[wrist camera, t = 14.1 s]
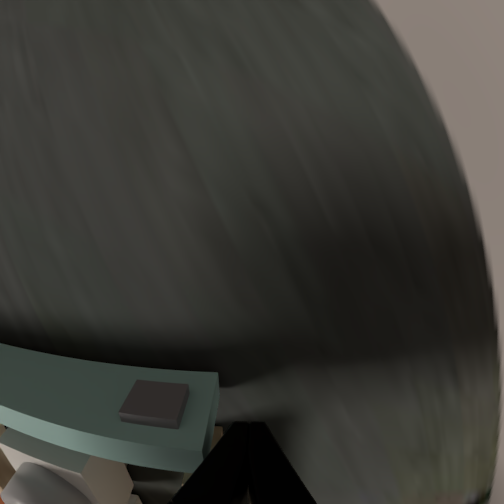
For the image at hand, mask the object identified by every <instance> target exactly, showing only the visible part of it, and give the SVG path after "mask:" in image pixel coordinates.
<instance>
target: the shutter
mask: <svg viewBox="0 0 504 504" xmlns="http://www.w3.org/2000/svg"><path fill="white" fill-rule="evenodd" d="M219 398H220V391H219V378H218V372H198V371H181V370H167V369H155V368H144V367H135V366H126V365H117V364H109V363H102V362H95V361H88V360H82V359H75V358H69V357H64V356H58V355H53V354H47V353H42V352H37V351H32V350H28V349H23V348H19V347H14V346H10V345H6V344H2V343H0V424H3V425H5V426H7V427H10V428H12V429H14V430H17V431H19V432H22V433H24V434H27V435H30V436H32V437H35V438H38V439H40V440H43V441H46V442H49V443H52V444H55V445H58V446H61V447H64V448H68V449H71V450H74V451H78V452H81V453H85V454H89V455H93V456H96V457H100V458H105V459H109V460H113V461H118V462H122V463H127V464H132V465H138V466H143V467H149V468H155V469H162V470H169V471H177V472H185V473H193V472H194V471H195V470H196V469H197V468H198V466H199V465H200V464H201V463H202V461H203V460H204V459H205V458H206V456H207V455H208V454H209V452H210V449H211V443H212V438H213V432H214V426H215V421H216V415H217V409H218V404H219Z"/></svg>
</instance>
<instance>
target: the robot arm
mask: <svg viewBox="0 0 504 504" xmlns="http://www.w3.org/2000/svg"><path fill="white" fill-rule="evenodd" d="M248 488H249V501H250V504H317V503H316V501H315V500H314V498H313V497H312V496H311V494H310V493H309V491H308V490H307V488H306V487H305V485H304V484H303V482H302V480H301V479H300V477H299V476H298V474H297V473H296V471H295V470H294V468H293V467H292V465H291V464H290V462H289V460H288V459H287V457H286V456H285V454H284V452H283V451H282V449H281V448H280V446H279V444H278V443H277V441H276V440H275V438H274V436H273V435H272V433H271V431H270V430H269V428H268V426H267V425H266V423H265V422H250V423H248V422H246V421H234V422H233V423H232V424H231V425H230V427H229V428H228V429H227V430H226V432H225V433H224V434H223V436H222V437H221V438H220V440H219V441H218V442H217V444H216V445H215V446H214V447H213V449H212V450H211V451H210V452H209V454H208V455H207V456H206V458H205V459H204V460H203V461H202V463H201V464H200V465H199V466H198V468H197V469H196V470H195V471H194V472H193V474H192V475H191V476H190V477H189V479H188V480H187V481H186V482H185V483H184V485H183V486H182V487H181V488H180V489H179V490H178V492H177V493H176V494H175V495H174V496H173V497H172V499H171V502H170V501H169V502H168V503H167V504H246V500H247V494H248Z"/></svg>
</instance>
